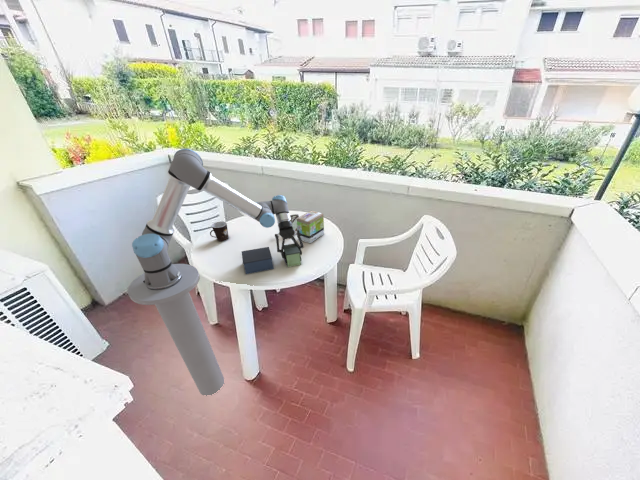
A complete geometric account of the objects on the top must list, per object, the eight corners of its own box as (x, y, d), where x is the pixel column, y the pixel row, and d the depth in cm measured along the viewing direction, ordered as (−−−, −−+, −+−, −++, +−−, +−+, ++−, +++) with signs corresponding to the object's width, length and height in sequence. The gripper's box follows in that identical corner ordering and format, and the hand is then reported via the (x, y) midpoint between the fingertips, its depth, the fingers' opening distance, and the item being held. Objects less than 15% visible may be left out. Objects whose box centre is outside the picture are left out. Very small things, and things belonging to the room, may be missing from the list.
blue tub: (245, 274, 145) (242, 263, 141) (244, 262, 155) (241, 251, 151) (274, 268, 150) (272, 257, 146) (270, 257, 159) (268, 246, 155)
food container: (291, 226, 192) (289, 213, 186) (300, 227, 191) (298, 214, 185) (284, 235, 182) (282, 220, 176) (293, 236, 181) (291, 221, 175)
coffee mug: (227, 234, 181) (223, 220, 176) (232, 239, 176) (229, 224, 171) (208, 240, 175) (204, 225, 169) (213, 245, 170) (209, 230, 164)
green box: (287, 267, 151) (285, 254, 147) (284, 257, 159) (282, 245, 155) (301, 264, 154) (299, 252, 149) (297, 255, 162) (295, 243, 157)
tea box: (310, 243, 173) (309, 221, 164) (297, 239, 177) (295, 218, 168) (324, 234, 184) (323, 213, 175) (312, 230, 188) (310, 209, 179)
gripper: (301, 222, 163) (310, 260, 160) (266, 227, 157) (275, 267, 153) (302, 217, 156) (312, 256, 153) (266, 223, 150) (275, 264, 146)
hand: (293, 262), depth 153 cm, fingers closed on green box, 7 cm apart
